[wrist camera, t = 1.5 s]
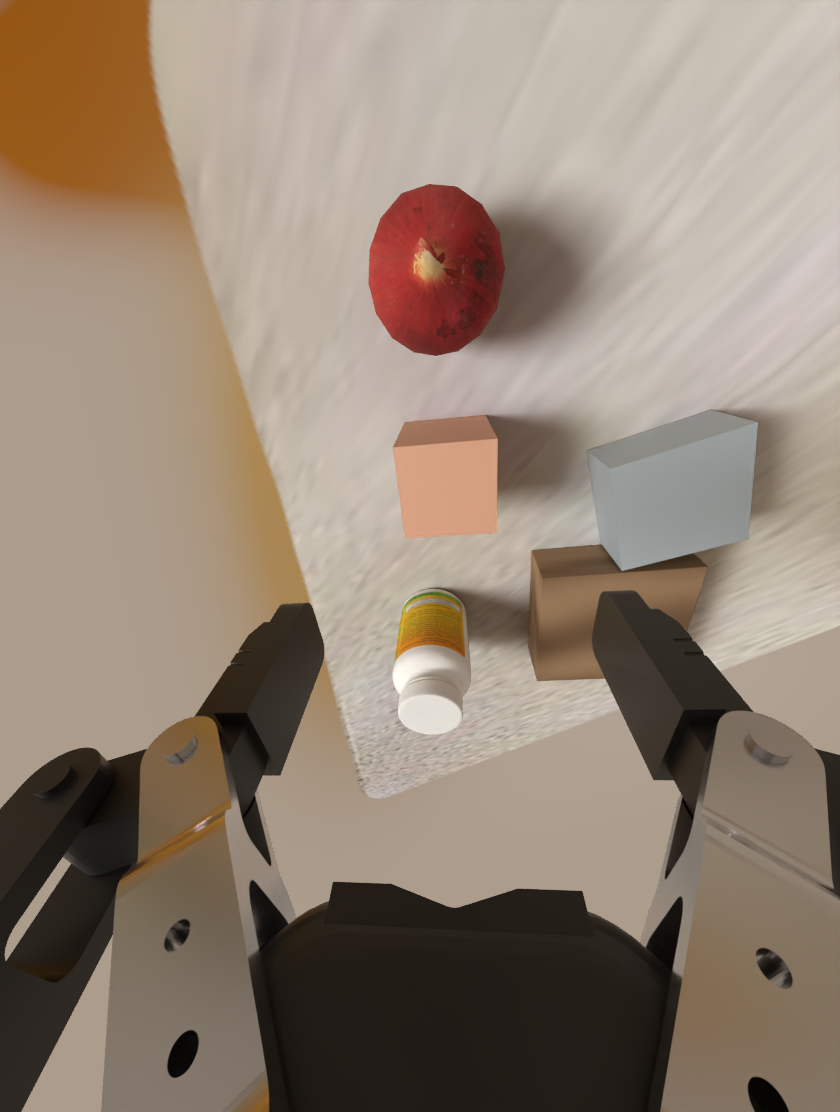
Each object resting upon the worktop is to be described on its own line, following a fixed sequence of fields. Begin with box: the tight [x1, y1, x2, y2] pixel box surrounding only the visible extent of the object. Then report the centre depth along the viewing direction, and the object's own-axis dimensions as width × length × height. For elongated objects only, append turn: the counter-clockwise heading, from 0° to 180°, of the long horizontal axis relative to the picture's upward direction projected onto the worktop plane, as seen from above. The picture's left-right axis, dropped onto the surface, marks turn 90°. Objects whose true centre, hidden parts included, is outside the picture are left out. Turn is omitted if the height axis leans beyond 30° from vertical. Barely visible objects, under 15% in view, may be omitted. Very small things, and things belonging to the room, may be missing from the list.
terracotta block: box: [393, 415, 498, 538], centre depth 21 cm, size 5×5×6 cm
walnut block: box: [528, 544, 708, 681], centre depth 27 cm, size 10×10×4 cm
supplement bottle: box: [393, 589, 471, 734], centre depth 26 cm, size 5×5×10 cm
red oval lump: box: [369, 184, 505, 356], centre depth 16 cm, size 6×6×8 cm
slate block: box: [587, 410, 758, 571], centre depth 22 cm, size 7×7×4 cm
